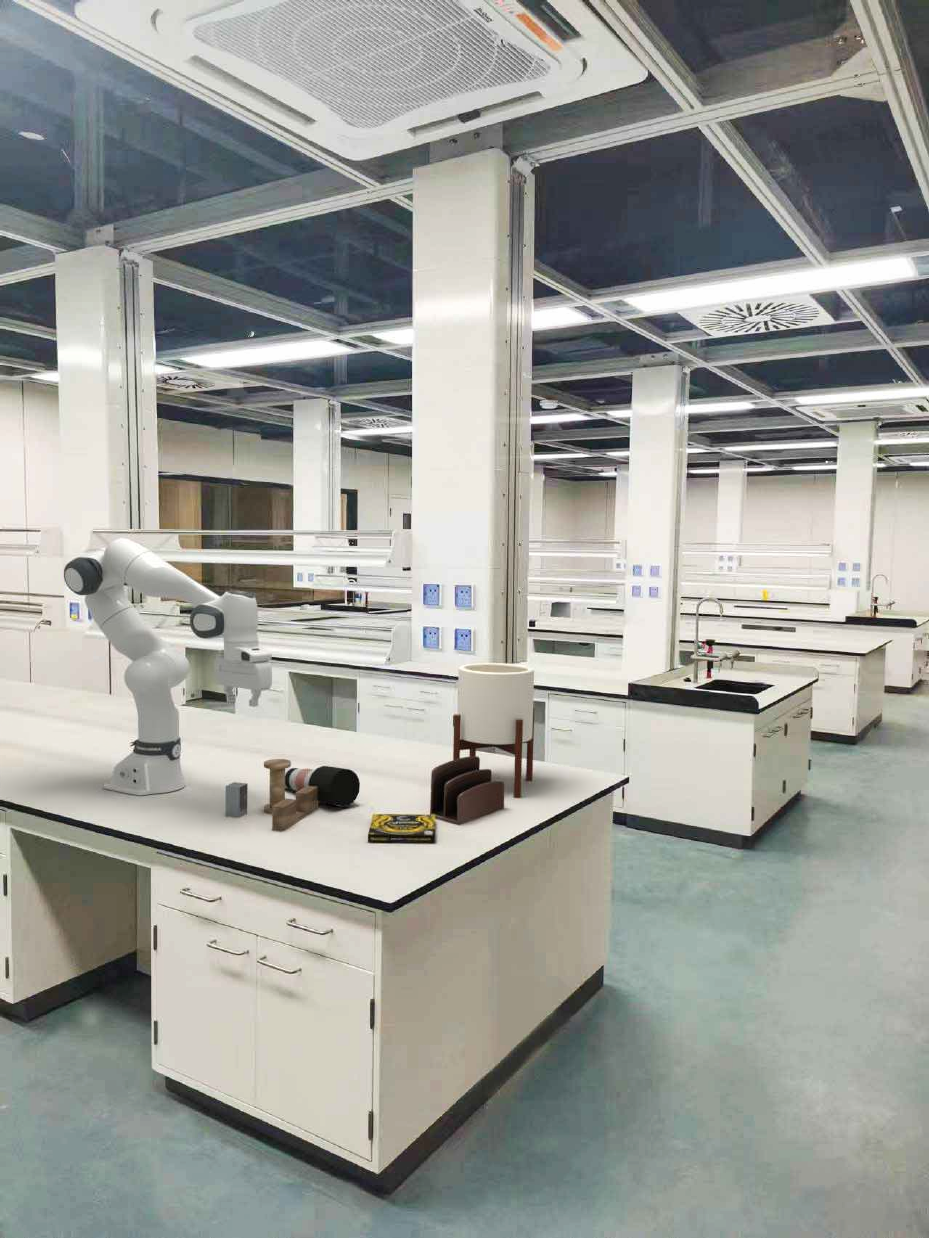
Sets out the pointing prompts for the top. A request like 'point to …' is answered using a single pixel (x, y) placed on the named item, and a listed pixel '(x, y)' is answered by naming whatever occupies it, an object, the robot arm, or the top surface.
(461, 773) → the letter holder
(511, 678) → the plant pot with stand
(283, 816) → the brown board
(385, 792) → the top surface
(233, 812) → the block
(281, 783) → the bobbin
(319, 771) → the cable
